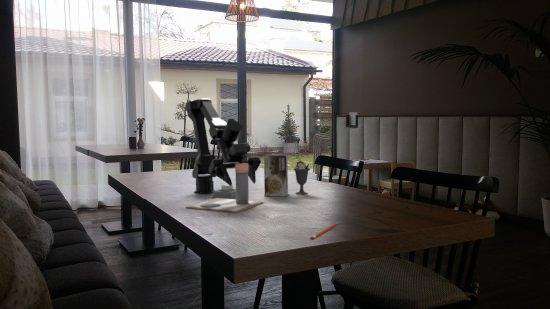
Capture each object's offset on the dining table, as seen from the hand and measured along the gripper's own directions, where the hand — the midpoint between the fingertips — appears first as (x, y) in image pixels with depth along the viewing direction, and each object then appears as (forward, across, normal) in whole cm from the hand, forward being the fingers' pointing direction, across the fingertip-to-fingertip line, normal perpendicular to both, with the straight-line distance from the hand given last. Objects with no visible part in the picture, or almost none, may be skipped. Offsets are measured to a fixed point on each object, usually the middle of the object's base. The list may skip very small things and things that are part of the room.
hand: (243, 183), depth 156 cm
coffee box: (-3, +21, +14) cm, 26 cm away
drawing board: (+3, -5, +8) cm, 10 cm away
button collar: (-9, +3, +19) cm, 21 cm away
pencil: (+37, +2, -25) cm, 45 cm away
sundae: (-1, +31, +12) cm, 34 cm away
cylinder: (+4, 0, +6) cm, 7 cm away
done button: (-10, +3, +18) cm, 21 cm away
